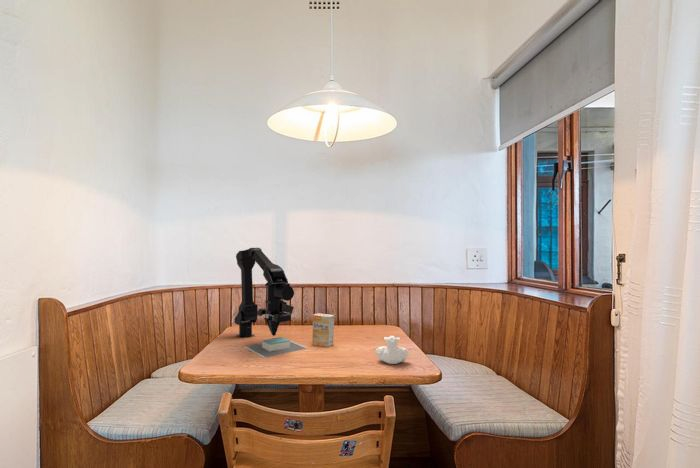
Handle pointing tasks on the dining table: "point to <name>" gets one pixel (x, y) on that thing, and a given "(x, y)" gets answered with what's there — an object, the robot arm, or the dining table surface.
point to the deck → (276, 344)
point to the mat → (266, 353)
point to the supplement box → (323, 330)
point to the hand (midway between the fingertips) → (273, 335)
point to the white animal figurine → (392, 351)
